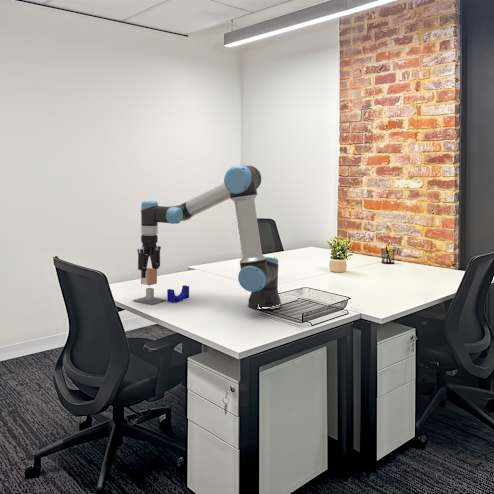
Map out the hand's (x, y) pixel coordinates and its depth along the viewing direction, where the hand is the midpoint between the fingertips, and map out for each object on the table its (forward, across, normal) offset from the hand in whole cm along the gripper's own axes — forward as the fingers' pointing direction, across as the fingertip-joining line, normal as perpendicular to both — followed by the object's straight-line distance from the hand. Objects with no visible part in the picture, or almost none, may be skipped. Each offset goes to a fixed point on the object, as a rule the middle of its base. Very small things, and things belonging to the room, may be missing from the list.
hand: (149, 283), depth 247 cm
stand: (+9, 0, 0) cm, 9 cm away
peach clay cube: (0, 0, 0) cm, 0 cm away
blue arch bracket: (+9, -10, +10) cm, 17 cm away
